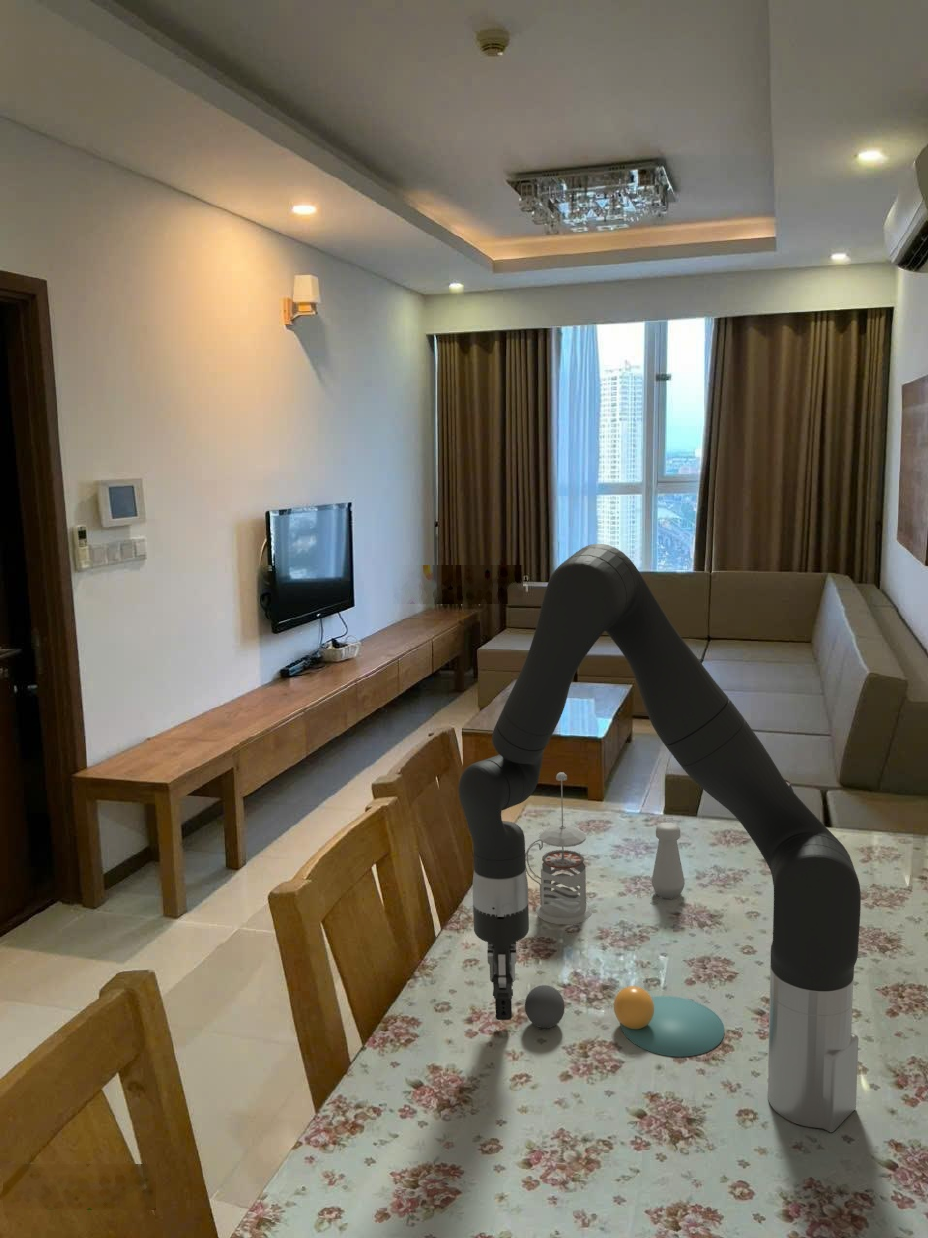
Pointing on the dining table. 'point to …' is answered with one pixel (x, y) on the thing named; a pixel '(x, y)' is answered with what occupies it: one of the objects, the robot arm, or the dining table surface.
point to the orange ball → (634, 1007)
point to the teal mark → (678, 1028)
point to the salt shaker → (668, 863)
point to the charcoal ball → (544, 1006)
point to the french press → (562, 874)
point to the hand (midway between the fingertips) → (503, 1017)
